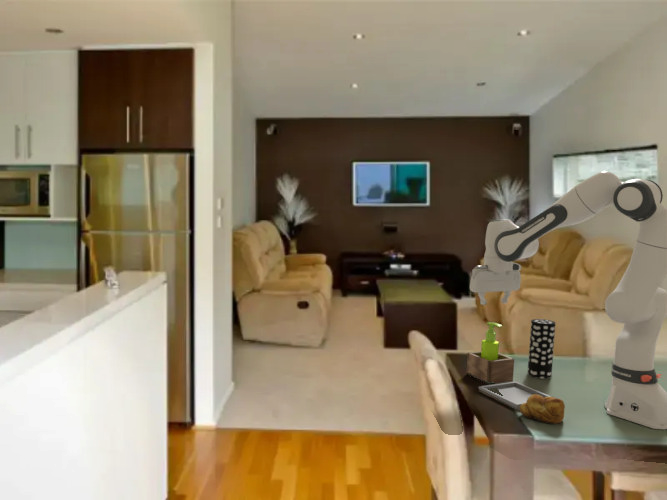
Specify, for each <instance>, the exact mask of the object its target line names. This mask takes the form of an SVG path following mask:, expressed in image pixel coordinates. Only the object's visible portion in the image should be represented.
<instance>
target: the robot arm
mask: <svg viewBox="0 0 667 500" xmlns="http://www.w3.org/2000/svg"><path fill="white" fill-rule="evenodd" d="M663 197H664V195H663V191H662V189H661V186H660V185H659V184H658V183H657V182H655V181H653V180H650V179H646V178H634V179H629V180H626V181H622V180H620V177H618V176H617V175H616V174H615V173H613V172H611V171H607V170H602V171H600V172H597V173H596V174H593V175H591V176H589V177H588V178H586V179H584V180H582V181H581V182H579V183H578V184H576V185H575V186H573V187H572V188H571V189H570V190H569V191H567V192H565V194H563V195H562V196H561V197H560V198H558V200H556V201H555V202H554V203H552V204H551V205H550V206H549V207H547V208H546V209H544V211H542V212H541V213H539V214H537V215H536V216H535V217H533V218H531V219H530V220H528V221H527V222H525V223H524V224H522V225H520V226H518V225H517V224H515V223H514V222H513V221H512V220H511V219H508V218H504V219H503V218H502V219H493V220H491V221H490V222H489V223H488V224H487V227H486V232H485V241H484V245H485V252H484V257H483V265H475V267H474V268H473V269H472V271H471V276H470V281H469V290H470V291H471V292H472V293H475V294H476V293H477V295H478V298H479V300H480V303H479V304H480V305H482V306H484V305H485V306H486V305H488V303H487V302H488V300H487V299H485V295H486V293H494V292H495V293H496V292H503V293H504V295H503V297H501V298H500V299H501V301H500V303H501V304H508V300H509V298H510V296H511V294H512V291H515V292H516V291H519V289H520V288H521V282H522V281H521V280H522V274H521V272H520V271H521V269H522V265H521V264H519V263H517V262H514V261H518V260H523V259H528V258H531V257H534V256H535V255H536V254H537V253H538V250H539V248H540V240H539V239H540V238H542V237H543V236H545V235H546V234H548V233H550V232H552V231H554V230H556V229H559V228H563V227H564V228H565V227H568V226H569V227H570V226H574V225H578V224H582V223H583V222H586V221H588V220H590V219H592V218H594V217H595V216H596V215H598V214H600V213H601V212H602V211H604V210H605V209H608V208H610V207H612V206H614V207H615V208H616V210H617V211H618V212H620V213H621V214H622V215H624V216H626V217H628V218H630V219H632V220H633V221H635V222H638V223H639V230H638V233H637V236H636V240H635V244H634V246H633V249H632V250H633V251H632V253H631V257H630V261H629V264H628V265H627V268H626V270H625V272H624V273H623V275H622V277H621V279H620V281H619V282H618V283H617V285H616V287H615V288H614V290H613V291H612V292H611V293H610V294H609V295H608V296H607V297H606V298H605V302H604V309H605V312H606V315H607V316H608V318H610V320H612V321H614V322H615V323H619V324H624V325H623V327H622V329H621V331H620V333H619V334H618V335H617V336H616V340H615V345H614V347H615V348H614V359H613V363H612V365H611V377H612V378H611V384H610V388H609V393H608V396H607V399H606V401H605V403H604V407H605V409H606V414H608V415H611V416H613V417H617V418H620V419H623V420H627V421H628V422H633V423H634V424H635V423H636V424H639V425H641V426H644V427H647V428H651V429H653V430H667V391H666V390H665V389H664V388H663V386H661V385H660V383H659V379H660V378H662V373H658V374H657V372H656V370H655V367H654V365H655V358H656V357H655V356H656V347H657V342H658V339H659V335H660V332H661V330H662V328H663V325H664V324H663V323H664V321H665V319H666V317H667V290H666V289H664V288H662V287H660V285H661V284H662V283H663V281H664V280H665V279H667V206H664V205H663V204H662V202H663V199H664V198H663Z"/></svg>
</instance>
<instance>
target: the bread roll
mask: <svg viewBox="0 0 667 500" xmlns="http://www.w3.org/2000/svg"><path fill="white" fill-rule="evenodd" d="M565 408H566V407H565V403H564V400H562V399H560V398H557V397H556V398H555V397H554V398H553V396H551V397H545V398H543V397H542V396H540V395H537V394H533V395H532V396H530V397H529V398H528V399H527V402H526V403H523V404H522V405H521V406H520V410H519V412H520V414H521V415H522V416H524V417H526V418H529V419H533V420H536V421H539V422H541V423H545V424H546V423H547V424H551V425H552V424H553V425H554V424H560V423H561V422H562V421H564V417H565Z"/></svg>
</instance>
